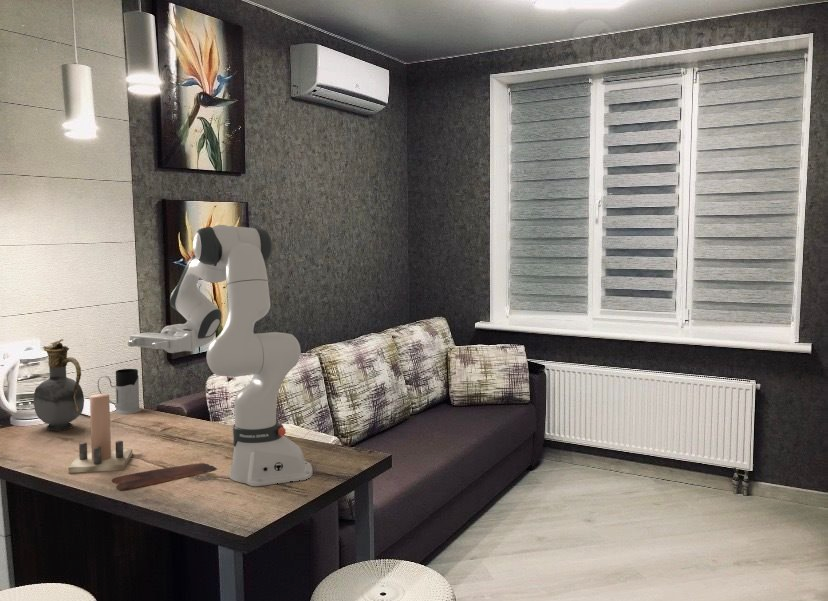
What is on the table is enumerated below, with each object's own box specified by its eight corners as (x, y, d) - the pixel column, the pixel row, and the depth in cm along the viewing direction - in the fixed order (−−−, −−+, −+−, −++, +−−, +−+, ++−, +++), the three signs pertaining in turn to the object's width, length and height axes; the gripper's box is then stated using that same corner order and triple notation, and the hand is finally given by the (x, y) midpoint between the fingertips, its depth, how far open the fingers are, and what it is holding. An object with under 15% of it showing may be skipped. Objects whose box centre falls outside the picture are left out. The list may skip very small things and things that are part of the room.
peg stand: (132, 453, 205) (131, 434, 204) (123, 469, 191) (122, 448, 191) (81, 456, 202) (80, 436, 201) (68, 472, 188) (67, 451, 188)
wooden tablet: (206, 458, 200) (219, 463, 192) (206, 465, 200) (220, 471, 192) (109, 477, 183) (119, 484, 176) (109, 485, 183) (119, 492, 176)
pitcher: (60, 420, 239) (57, 334, 236) (96, 429, 229) (93, 339, 226) (29, 428, 229) (26, 339, 226) (66, 437, 220) (63, 344, 217)
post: (112, 454, 199) (111, 393, 198) (109, 460, 195) (107, 397, 193) (94, 455, 198) (92, 394, 197) (90, 461, 194) (87, 398, 192)
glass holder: (142, 412, 251) (141, 371, 249) (99, 417, 244) (98, 375, 242) (138, 407, 258) (137, 367, 257) (97, 411, 252) (96, 370, 250)
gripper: (148, 326, 224) (115, 332, 211) (199, 331, 216) (167, 337, 203) (149, 346, 224) (115, 352, 212) (199, 350, 217) (168, 358, 204)
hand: (141, 345), depth 207 cm, fingers open, 8 cm apart
